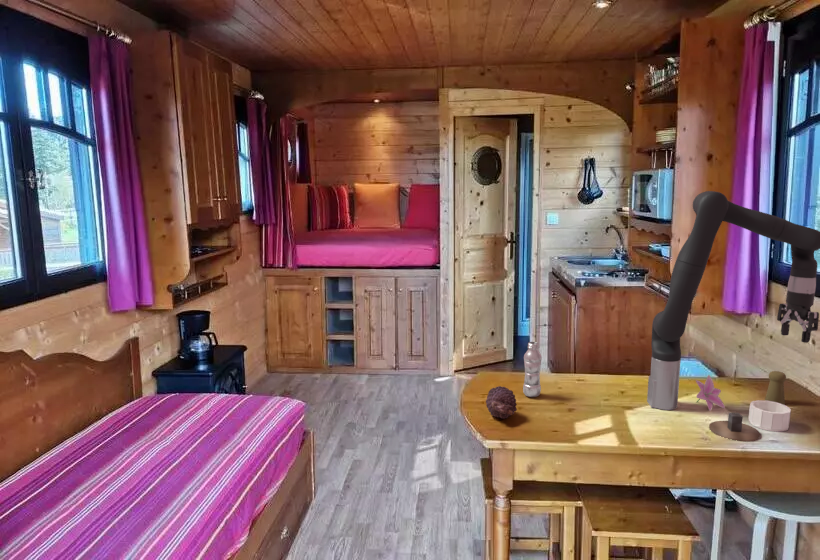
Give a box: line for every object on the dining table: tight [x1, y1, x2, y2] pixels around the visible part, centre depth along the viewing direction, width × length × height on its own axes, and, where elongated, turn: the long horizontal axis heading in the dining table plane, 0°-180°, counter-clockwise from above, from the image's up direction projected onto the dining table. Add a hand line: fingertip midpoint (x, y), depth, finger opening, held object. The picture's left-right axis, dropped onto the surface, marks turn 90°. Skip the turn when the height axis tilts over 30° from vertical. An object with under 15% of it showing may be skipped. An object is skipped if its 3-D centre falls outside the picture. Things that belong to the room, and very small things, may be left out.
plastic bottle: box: [522, 341, 543, 398], centre depth 216 cm, size 6×7×20 cm
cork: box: [764, 370, 787, 405], centre depth 210 cm, size 6×6×11 cm
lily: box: [695, 374, 726, 412], centre depth 207 cm, size 12×12×10 cm
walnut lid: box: [708, 412, 761, 442], centre depth 186 cm, size 14×14×6 cm
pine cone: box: [485, 385, 518, 420], centre depth 199 cm, size 18×10×10 cm, turn 6°
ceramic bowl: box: [748, 399, 792, 433], centre depth 191 cm, size 11×11×6 cm
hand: (794, 338), depth 195 cm, fingers open, 8 cm apart
